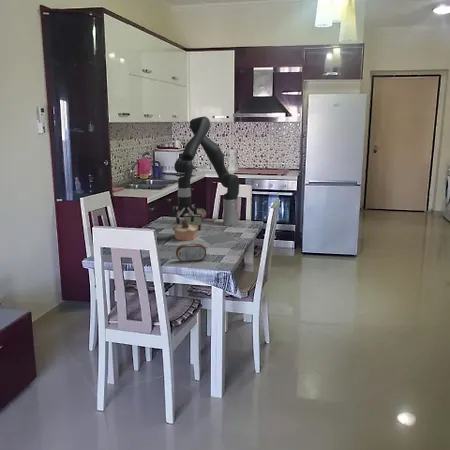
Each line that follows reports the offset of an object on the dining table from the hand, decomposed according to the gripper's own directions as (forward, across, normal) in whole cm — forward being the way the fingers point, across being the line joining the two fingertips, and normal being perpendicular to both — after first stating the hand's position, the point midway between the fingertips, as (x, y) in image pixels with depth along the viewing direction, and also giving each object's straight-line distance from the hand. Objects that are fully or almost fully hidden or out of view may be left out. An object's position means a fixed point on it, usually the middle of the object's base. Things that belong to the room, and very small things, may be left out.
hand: (185, 222), depth 269 cm
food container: (+10, -13, -18) cm, 24 cm away
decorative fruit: (+10, -25, -36) cm, 45 cm away
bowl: (+10, 0, 0) cm, 10 cm away
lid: (+4, 0, 0) cm, 4 cm away
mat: (+9, -16, +10) cm, 21 cm away
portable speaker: (+10, +13, +40) cm, 43 cm away
